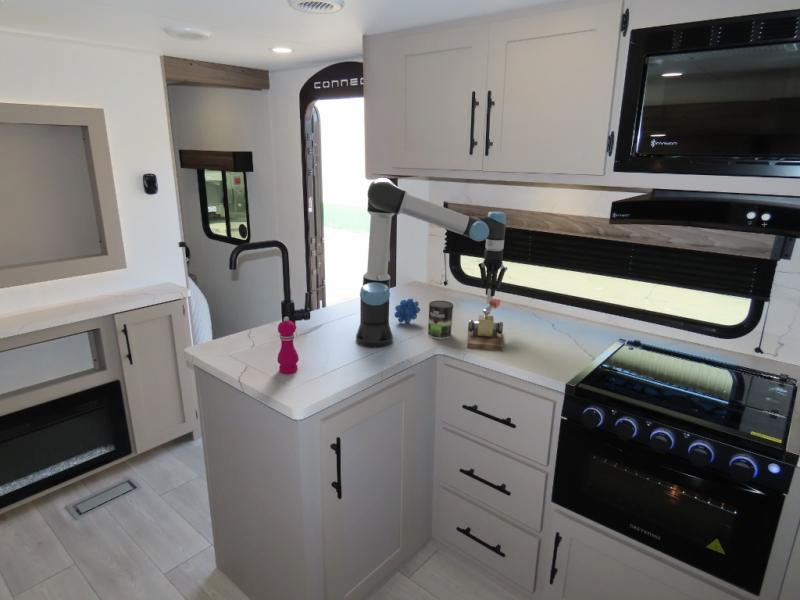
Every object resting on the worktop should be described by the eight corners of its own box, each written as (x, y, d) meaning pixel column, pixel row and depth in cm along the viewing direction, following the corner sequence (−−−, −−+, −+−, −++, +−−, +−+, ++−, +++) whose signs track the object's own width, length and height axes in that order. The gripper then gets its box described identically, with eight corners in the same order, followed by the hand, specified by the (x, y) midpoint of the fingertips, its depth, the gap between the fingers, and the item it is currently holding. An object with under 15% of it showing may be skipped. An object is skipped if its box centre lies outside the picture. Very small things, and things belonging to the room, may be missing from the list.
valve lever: (488, 314, 199) (489, 309, 198) (481, 313, 201) (481, 308, 200) (500, 305, 212) (500, 300, 212) (493, 304, 214) (493, 298, 213)
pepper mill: (300, 366, 175) (298, 313, 169) (297, 374, 168) (295, 320, 162) (280, 365, 175) (277, 313, 169) (276, 374, 168) (273, 320, 162)
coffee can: (446, 341, 203) (447, 309, 198) (423, 336, 207) (425, 304, 203) (455, 333, 211) (457, 302, 207) (433, 329, 216) (435, 298, 212)
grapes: (419, 320, 227) (420, 295, 223) (419, 325, 220) (420, 300, 217) (394, 319, 227) (395, 295, 223) (394, 324, 220) (394, 299, 217)
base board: (467, 347, 196) (467, 343, 196) (467, 330, 215) (468, 326, 215) (502, 350, 194) (502, 345, 194) (500, 333, 213) (500, 328, 213)
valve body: (467, 336, 202) (469, 314, 199) (467, 331, 208) (469, 309, 205) (501, 339, 200) (504, 316, 197) (501, 334, 206) (503, 312, 203)
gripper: (476, 248, 205) (472, 301, 212) (503, 252, 197) (498, 307, 204) (485, 246, 211) (480, 298, 217) (512, 250, 203) (506, 304, 210)
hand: (489, 302), depth 211 cm, fingers closed
